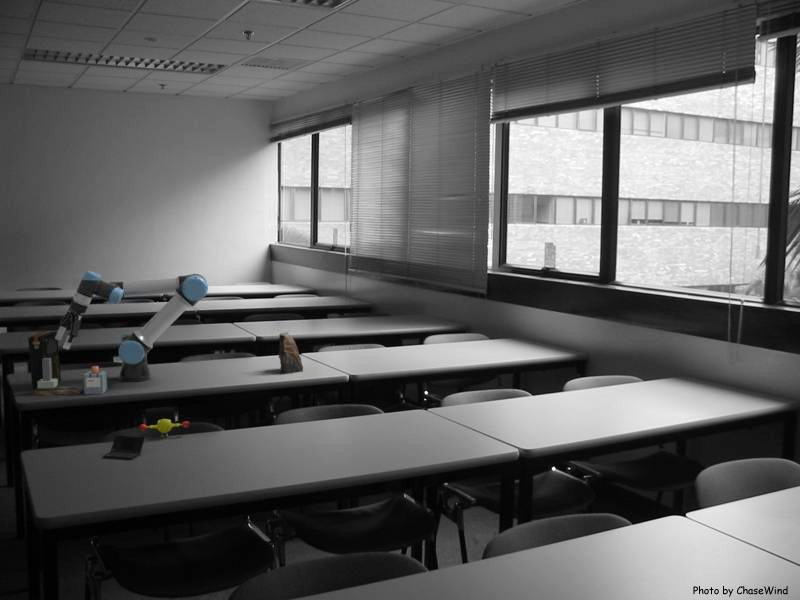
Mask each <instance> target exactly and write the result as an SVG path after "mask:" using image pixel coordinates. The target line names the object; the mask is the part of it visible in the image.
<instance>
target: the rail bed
mask: <svg viewBox="0 0 800 600" xmlns="http://www.w3.org/2000/svg"><path fill="white" fill-rule="evenodd" d="M79 392H80V393H81V392H83V387H80V386H74V385H73V386H56V387H55V388H38V387H37V388H36V390H34V391H33V395H34V396H48V395H49V394H65V395H79V394H80V393H79ZM78 393H79V394H78Z"/></svg>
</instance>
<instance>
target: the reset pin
mask: <svg viewBox="0 0 800 600" xmlns="http://www.w3.org/2000/svg"><path fill="white" fill-rule="evenodd" d="M91 371H92V374H97V378H98V374H99V371H100V367H99V365H94V366H91Z"/></svg>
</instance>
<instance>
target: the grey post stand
mask: <svg viewBox="0 0 800 600" xmlns="http://www.w3.org/2000/svg"><path fill="white" fill-rule="evenodd" d="M42 367H43V379H41V380H39V381H38V382H37V386H38V388H55V387H58V384H59V383H58V379H52V367H51V358H43V359H42Z"/></svg>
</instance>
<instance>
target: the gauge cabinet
mask: <svg viewBox="0 0 800 600" xmlns="http://www.w3.org/2000/svg"><path fill="white" fill-rule="evenodd" d="M107 373H108V372H107V370H101V372H100V370H99V374H98V378H97V374H92V370H91V371H90V370H89V371H87V372H86V373H85V374H83V383H84V386H83V387H84V395H104V394H105V393H106V392H107V391H108V380H107V379H108V378H107V377H108V376H107ZM106 390H107V391H106ZM105 391H106V392H105ZM104 392H105V393H104ZM103 393H104V394H103Z"/></svg>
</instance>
